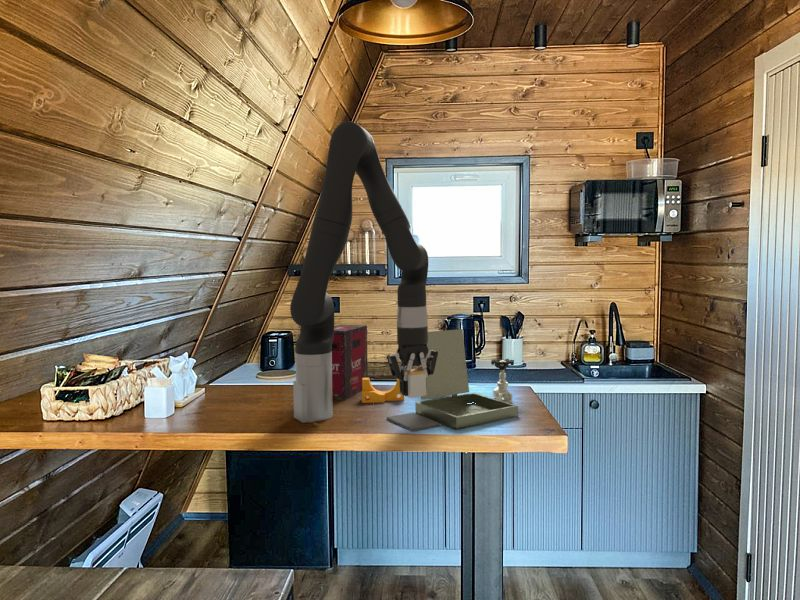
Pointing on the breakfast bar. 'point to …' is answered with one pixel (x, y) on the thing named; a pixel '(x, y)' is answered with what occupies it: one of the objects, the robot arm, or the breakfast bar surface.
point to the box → (348, 360)
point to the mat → (413, 421)
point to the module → (416, 383)
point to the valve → (502, 381)
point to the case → (465, 410)
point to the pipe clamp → (379, 393)
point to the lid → (447, 364)
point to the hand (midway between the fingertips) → (413, 393)
